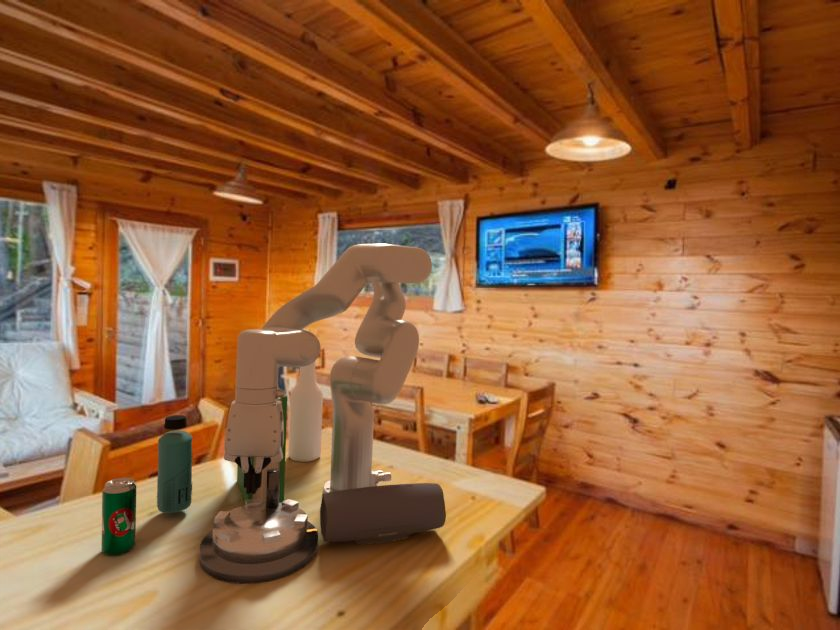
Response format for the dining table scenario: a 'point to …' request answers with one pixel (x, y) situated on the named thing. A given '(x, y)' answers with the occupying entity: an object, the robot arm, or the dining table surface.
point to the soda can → (118, 516)
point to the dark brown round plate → (257, 571)
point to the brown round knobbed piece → (260, 527)
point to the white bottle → (305, 417)
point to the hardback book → (267, 468)
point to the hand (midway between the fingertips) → (252, 491)
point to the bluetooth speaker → (381, 512)
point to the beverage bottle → (174, 467)
